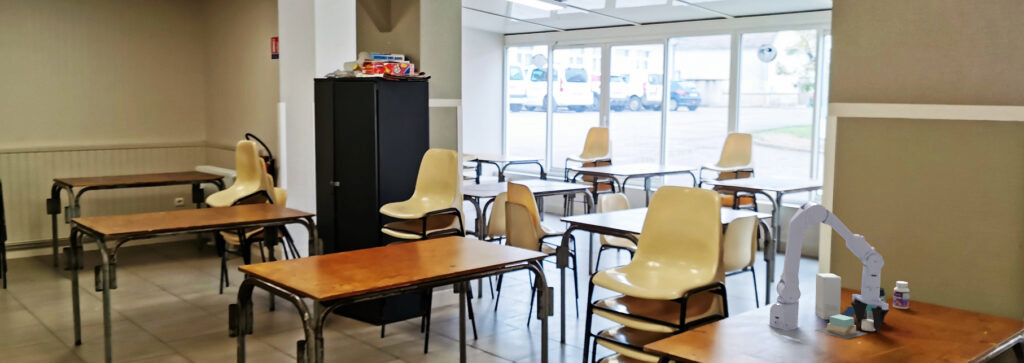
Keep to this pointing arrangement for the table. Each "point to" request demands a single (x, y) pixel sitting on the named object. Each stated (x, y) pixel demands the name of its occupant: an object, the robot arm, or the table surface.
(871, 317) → the beverage can
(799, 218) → the robot arm
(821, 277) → the skincare box
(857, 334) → the mat
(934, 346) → the table surface
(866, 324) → the white short cylinder
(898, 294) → the pill bottle
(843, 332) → the bottom block
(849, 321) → the top block
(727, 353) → the table surface
